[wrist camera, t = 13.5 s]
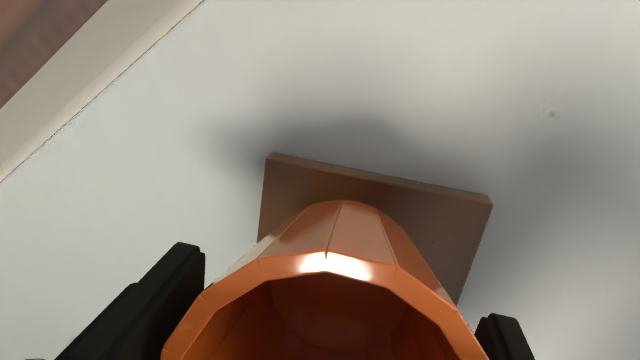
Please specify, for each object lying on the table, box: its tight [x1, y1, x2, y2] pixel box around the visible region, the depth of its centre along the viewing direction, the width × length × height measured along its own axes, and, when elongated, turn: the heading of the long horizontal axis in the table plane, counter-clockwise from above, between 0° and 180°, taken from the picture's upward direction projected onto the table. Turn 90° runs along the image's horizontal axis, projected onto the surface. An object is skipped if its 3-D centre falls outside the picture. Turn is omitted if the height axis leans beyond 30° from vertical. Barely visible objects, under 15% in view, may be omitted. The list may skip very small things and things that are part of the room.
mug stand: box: [257, 153, 493, 306], centre depth 16 cm, size 12×10×15 cm
